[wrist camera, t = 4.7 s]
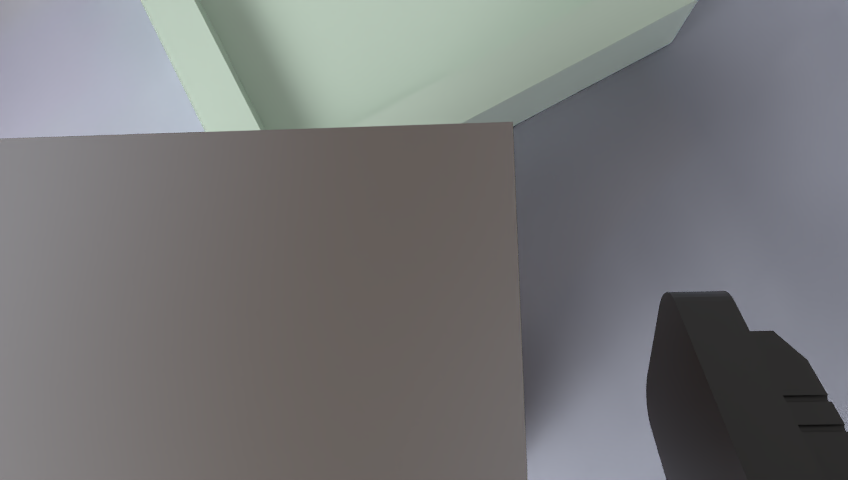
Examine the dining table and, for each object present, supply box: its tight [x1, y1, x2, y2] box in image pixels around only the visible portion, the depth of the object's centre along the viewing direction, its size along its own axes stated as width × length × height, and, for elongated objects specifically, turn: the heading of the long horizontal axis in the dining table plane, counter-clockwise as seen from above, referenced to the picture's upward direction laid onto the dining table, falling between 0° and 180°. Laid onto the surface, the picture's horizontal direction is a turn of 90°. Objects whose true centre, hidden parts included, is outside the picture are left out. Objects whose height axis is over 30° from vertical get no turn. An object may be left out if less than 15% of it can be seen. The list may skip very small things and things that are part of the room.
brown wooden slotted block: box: [0, 122, 527, 480], centre depth 10 cm, size 4×4×11 cm
